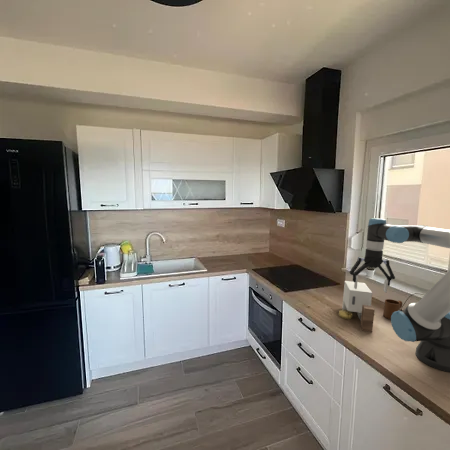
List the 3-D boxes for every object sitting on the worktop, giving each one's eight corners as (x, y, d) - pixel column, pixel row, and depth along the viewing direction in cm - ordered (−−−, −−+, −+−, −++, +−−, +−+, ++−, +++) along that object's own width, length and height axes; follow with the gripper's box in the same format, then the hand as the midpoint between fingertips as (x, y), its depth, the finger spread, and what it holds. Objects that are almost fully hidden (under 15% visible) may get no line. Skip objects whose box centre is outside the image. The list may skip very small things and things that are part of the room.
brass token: (353, 320, 143) (354, 316, 142) (340, 318, 144) (340, 314, 144) (350, 314, 149) (350, 310, 149) (337, 312, 151) (338, 308, 151)
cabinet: (369, 324, 138) (372, 293, 136) (347, 320, 141) (350, 290, 139) (362, 310, 154) (364, 282, 152) (342, 308, 157) (344, 280, 155)
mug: (394, 312, 154) (395, 297, 153) (406, 318, 147) (408, 302, 146) (379, 315, 149) (381, 299, 148) (392, 321, 142) (394, 305, 141)
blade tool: (372, 332, 130) (374, 309, 129) (362, 330, 132) (364, 308, 130) (362, 315, 149) (364, 295, 148) (354, 313, 150) (356, 294, 149)
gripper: (400, 249, 128) (395, 290, 131) (345, 245, 135) (342, 284, 138) (406, 253, 121) (400, 295, 124) (348, 248, 128) (344, 289, 130)
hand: (370, 289), depth 131 cm, fingers open, 13 cm apart
